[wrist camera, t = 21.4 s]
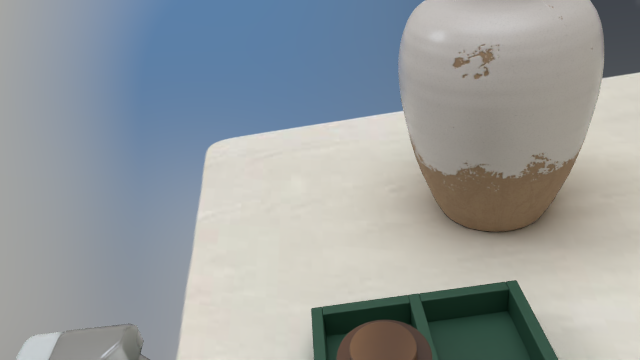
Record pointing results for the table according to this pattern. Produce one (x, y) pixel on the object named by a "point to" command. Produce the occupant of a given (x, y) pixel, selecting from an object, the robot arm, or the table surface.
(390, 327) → the brown lidded canister
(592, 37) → the vase
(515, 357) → the grid
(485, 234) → the table surface
